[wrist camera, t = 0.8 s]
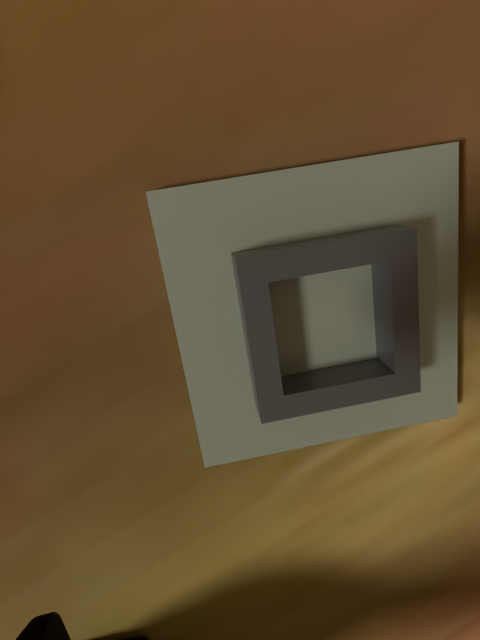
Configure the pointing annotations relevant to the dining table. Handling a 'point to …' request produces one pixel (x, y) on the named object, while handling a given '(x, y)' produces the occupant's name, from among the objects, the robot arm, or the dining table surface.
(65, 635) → the robot arm
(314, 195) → the end holder
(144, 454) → the dining table surface
